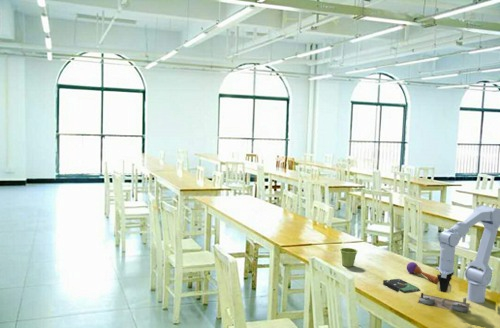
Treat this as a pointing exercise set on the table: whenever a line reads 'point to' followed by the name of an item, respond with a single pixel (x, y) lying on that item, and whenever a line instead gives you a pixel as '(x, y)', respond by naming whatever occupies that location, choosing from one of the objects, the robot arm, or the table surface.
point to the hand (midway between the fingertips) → (444, 289)
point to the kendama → (420, 272)
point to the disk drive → (400, 285)
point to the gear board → (444, 303)
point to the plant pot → (348, 256)
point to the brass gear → (447, 288)
